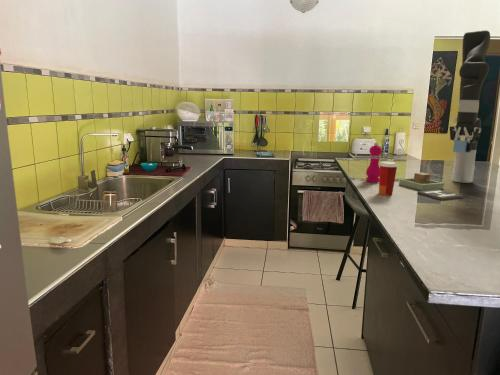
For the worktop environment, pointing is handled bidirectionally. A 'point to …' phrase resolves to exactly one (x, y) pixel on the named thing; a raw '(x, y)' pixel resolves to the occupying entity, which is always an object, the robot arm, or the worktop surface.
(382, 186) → the paper cup
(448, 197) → the letter mat
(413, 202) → the worktop surface
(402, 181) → the tray
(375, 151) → the pepper mill
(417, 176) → the walnut block
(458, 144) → the slate cube
